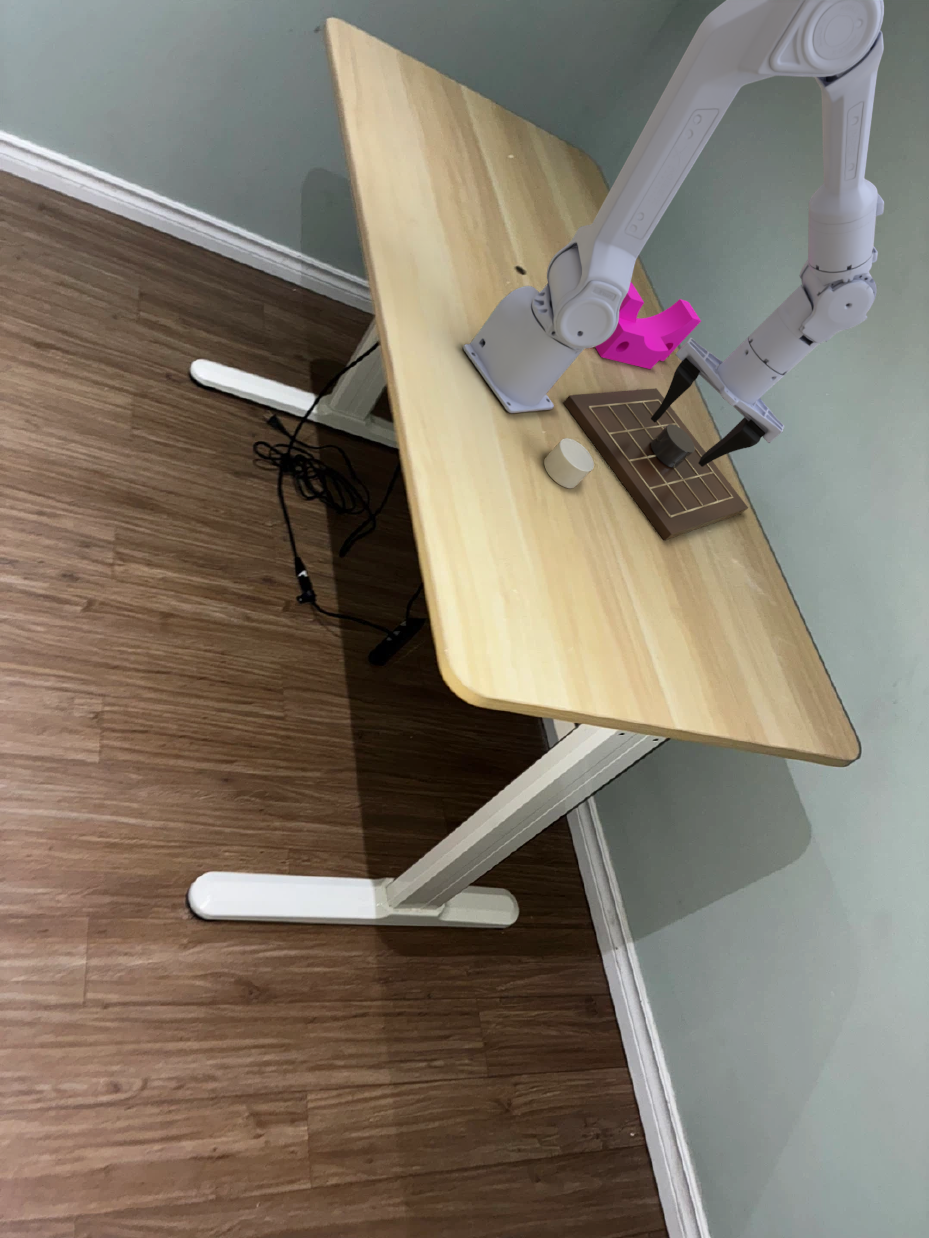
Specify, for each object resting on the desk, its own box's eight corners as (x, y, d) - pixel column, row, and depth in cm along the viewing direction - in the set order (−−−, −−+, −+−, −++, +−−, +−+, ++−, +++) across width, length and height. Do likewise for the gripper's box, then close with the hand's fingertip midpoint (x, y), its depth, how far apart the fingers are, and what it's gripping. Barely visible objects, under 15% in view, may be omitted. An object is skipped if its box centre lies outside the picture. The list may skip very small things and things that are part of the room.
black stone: (646, 448, 96) (663, 432, 94) (655, 434, 99) (671, 418, 97) (673, 473, 96) (690, 458, 95) (681, 459, 100) (698, 443, 98)
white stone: (536, 457, 84) (552, 439, 83) (561, 453, 88) (577, 436, 86) (560, 491, 83) (577, 473, 82) (584, 485, 87) (601, 468, 85)
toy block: (601, 357, 106) (639, 312, 101) (581, 322, 108) (618, 277, 103) (671, 374, 115) (709, 334, 110) (651, 342, 118) (688, 302, 113)
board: (562, 402, 94) (569, 394, 93) (650, 394, 108) (657, 387, 107) (664, 540, 89) (672, 533, 89) (741, 513, 104) (749, 507, 103)
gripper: (711, 318, 84) (624, 409, 93) (812, 414, 85) (716, 495, 94) (723, 301, 89) (640, 389, 98) (818, 392, 90) (727, 471, 99)
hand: (678, 440), depth 96 cm, fingers open, 7 cm apart
